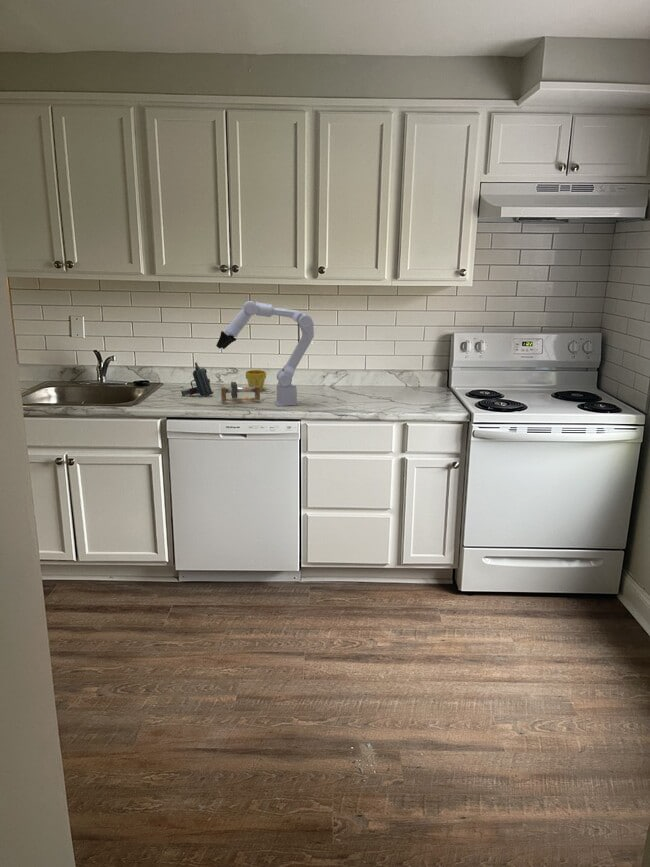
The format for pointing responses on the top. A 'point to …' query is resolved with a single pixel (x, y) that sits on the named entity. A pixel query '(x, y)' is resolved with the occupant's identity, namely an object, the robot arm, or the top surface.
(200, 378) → the gun
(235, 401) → the pipe stand
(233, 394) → the collar
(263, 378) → the plant pot
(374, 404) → the top surface
